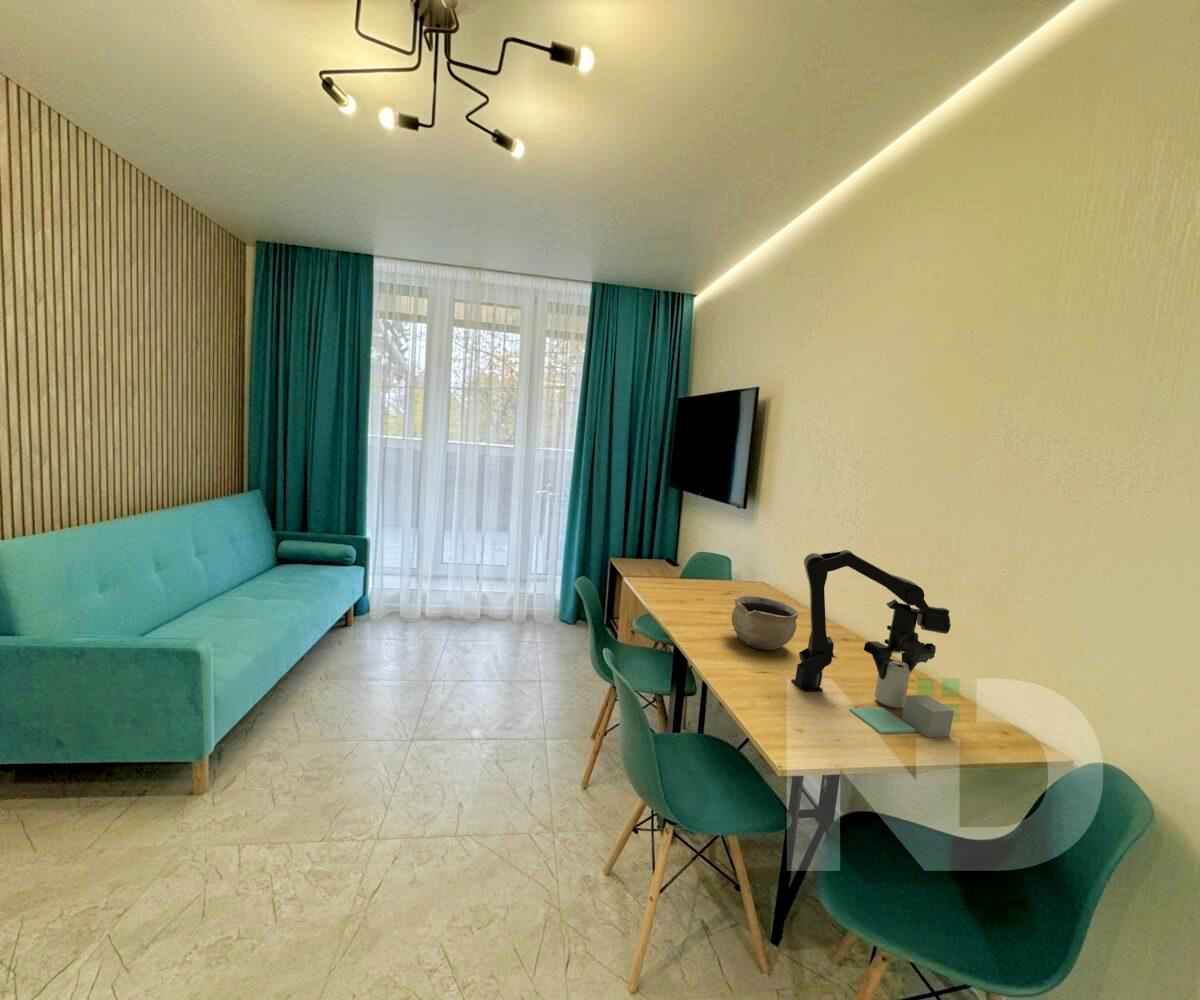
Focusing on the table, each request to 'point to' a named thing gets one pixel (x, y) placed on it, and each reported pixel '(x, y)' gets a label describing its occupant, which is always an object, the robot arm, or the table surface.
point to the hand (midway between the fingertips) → (893, 678)
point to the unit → (927, 716)
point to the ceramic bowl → (763, 622)
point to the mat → (882, 720)
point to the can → (893, 684)
